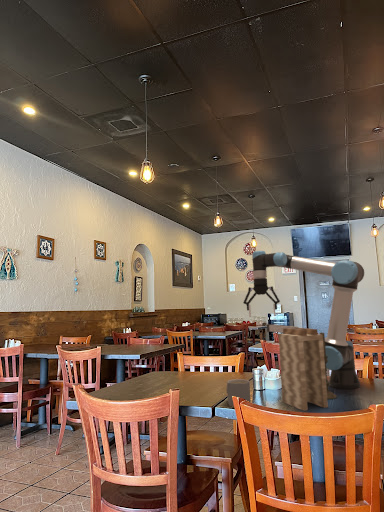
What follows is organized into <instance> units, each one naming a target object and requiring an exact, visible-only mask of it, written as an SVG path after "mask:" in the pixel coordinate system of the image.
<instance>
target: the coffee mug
mask: <svg viewBox="0 0 384 512" xmlns="http://www.w3.org/2000/svg"><path fill="white" fill-rule="evenodd" d="M226 393H227V405H228V404H229V405H230V406H229V405H228V406H229V407H231V406H233V401H232V396H236V397H240V398H243V399H245V400H247V401H249V402H251V401H252V400H251V386H250V380H248V379H244V378H243V379H242V378H239V379H238V378H237V379H235V378H234V379H229V380H227V382H226Z"/></svg>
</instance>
